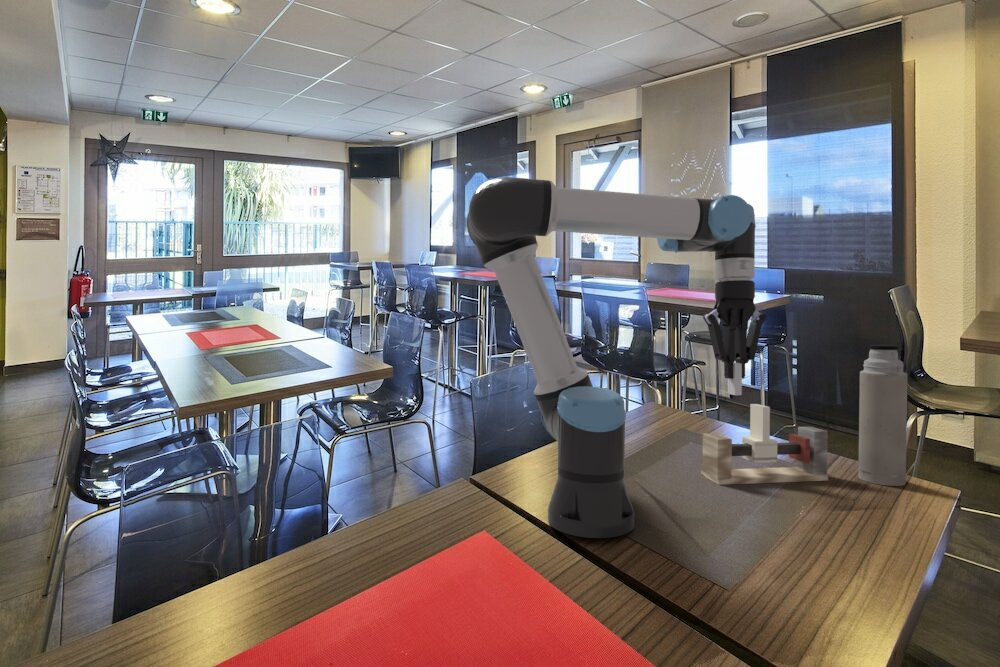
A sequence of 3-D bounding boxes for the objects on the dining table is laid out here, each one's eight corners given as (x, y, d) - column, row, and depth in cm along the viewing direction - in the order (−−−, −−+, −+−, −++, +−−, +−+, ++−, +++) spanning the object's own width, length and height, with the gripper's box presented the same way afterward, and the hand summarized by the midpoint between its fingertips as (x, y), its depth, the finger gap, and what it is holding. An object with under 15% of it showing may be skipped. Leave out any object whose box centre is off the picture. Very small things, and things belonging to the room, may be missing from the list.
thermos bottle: (850, 474, 115) (852, 343, 114) (890, 475, 114) (892, 344, 113) (872, 485, 107) (874, 345, 106) (915, 486, 106) (917, 345, 106)
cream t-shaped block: (754, 462, 109) (755, 407, 109) (742, 457, 114) (742, 404, 114) (777, 462, 110) (777, 406, 110) (764, 456, 114) (764, 403, 114)
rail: (718, 484, 107) (719, 435, 107) (701, 474, 114) (701, 428, 114) (830, 480, 110) (831, 432, 110) (806, 471, 117) (807, 425, 117)
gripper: (714, 278, 106) (714, 397, 106) (775, 279, 108) (775, 396, 108) (695, 281, 113) (696, 392, 114) (753, 281, 115) (753, 391, 116)
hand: (734, 394), depth 111 cm, fingers closed
